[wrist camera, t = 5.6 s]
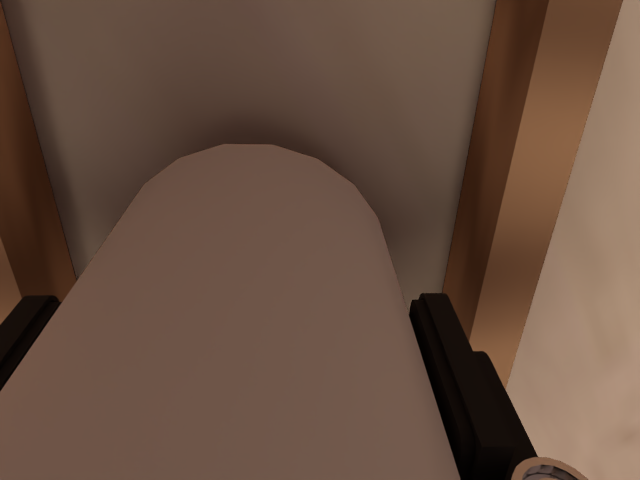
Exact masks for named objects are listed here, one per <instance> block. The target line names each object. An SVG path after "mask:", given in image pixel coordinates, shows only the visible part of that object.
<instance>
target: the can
mask: <svg viewBox="0 0 640 480" xmlns="http://www.w3.org/2000/svg"><path fill="white" fill-rule="evenodd" d="M0 480H461V479H460V476H459V473H458V470H457V467H456V464H455V460H454V457H453V454H452V451H451V448H450V444H449V441H448V438H447V435H446V432H445V429H444V425H443V422H442V419H441V416H440V413H439V410H438V406H437V403H436V400H435V397H434V394H433V391H432V387H431V384H430V381H429V378H428V375H427V371H426V368H425V365H424V362H423V359H422V356H421V352H420V349H419V346H418V343H417V340H416V337H415V333H414V330H413V327H412V324H411V321H410V318H409V314H408V311H407V308H406V305H405V302H404V298H403V295H402V292H401V289H400V286H399V283H398V279H397V276H396V273H395V270H394V267H393V264H392V260H391V257H390V254H389V251H388V248H387V244H386V241H385V238H384V235H383V232H382V229H381V225H380V222H379V219H378V217H377V216H376V214H375V213H374V211H373V210H372V209H371V207H370V206H369V204H368V203H367V202H366V200H365V199H364V197H363V196H362V195H361V193H360V192H359V190H358V189H357V188H356V186H355V185H354V184H353V183H351V182H350V181H348V180H347V179H346V178H344V177H343V176H341V175H340V174H339V173H337V172H336V171H334V170H333V169H332V168H330V167H329V166H327V165H326V164H324V163H323V162H322V161H320V160H319V159H317V158H314V157H311V156H307V155H304V154H301V153H298V152H295V151H292V150H288V149H285V148H282V147H279V146H276V145H273V144H222V145H219V146H216V147H213V148H209V149H206V150H203V151H200V152H197V153H193V154H190V155H187V156H184V157H180V158H178V159H177V160H176V161H174V162H173V163H172V164H170V165H169V166H168V167H166V168H165V169H163V170H162V171H161V172H159V173H158V174H157V175H155V176H154V177H153V178H151V179H150V180H149V181H147V182H146V183H145V184H144V185H143V186H142V188H141V189H140V191H139V192H138V194H137V195H136V196H135V198H134V199H133V201H132V202H131V204H130V205H129V207H128V208H127V209H126V211H125V212H124V214H123V215H122V217H121V218H120V220H119V221H118V222H117V224H116V225H115V227H114V228H113V230H112V231H111V233H110V234H109V235H108V237H107V238H106V240H105V241H104V243H103V244H102V246H101V247H100V248H99V250H98V251H97V253H96V254H95V256H94V257H93V259H92V260H91V261H90V263H89V264H88V266H87V267H86V269H85V270H84V271H83V273H82V274H81V276H80V277H79V279H78V280H77V282H76V283H75V284H74V286H73V287H72V289H71V290H70V292H69V293H68V295H67V296H66V297H65V299H64V300H63V302H62V303H61V305H60V306H59V308H58V309H57V310H56V312H55V313H54V315H53V316H52V318H51V319H50V321H49V322H48V323H47V325H46V326H45V328H44V329H43V331H42V332H41V334H40V335H39V336H38V338H37V339H36V341H35V342H34V344H33V345H32V347H31V348H30V349H29V351H28V352H27V354H26V355H25V357H24V358H23V360H22V361H21V362H20V364H19V365H18V367H17V368H16V370H15V371H14V373H13V374H12V375H11V377H10V378H9V380H8V381H7V383H6V384H5V386H4V387H3V388H2V390H1V391H0Z"/></svg>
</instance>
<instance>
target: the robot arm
mask: <svg viewBox="0 0 640 480" xmlns="http://www.w3.org/2000/svg"><path fill="white" fill-rule="evenodd" d="M61 303H62V302H59V299H58V298H57V297H56V296H54V295H27V296H24V297H23V298H22V299H21V300H20V301H19V303H18V304H17V305H16V306H15V307H14V309H13V310H12V311H11V312H10V314H9V315H8V316H7V317H6V318H5V320H4V321H3V322H2V323H1V324H0V391H1V390H2V388H3V387H4V386H5V384H6V383H7V381H8V380H9V378H10V377H11V375H12V374H13V373H14V371H15V370H16V368H17V367H18V365H19V364H20V362H21V361H22V360H23V358H24V357H25V355H26V354H27V352H28V351H29V349H30V348H31V347H32V345H33V344H34V342H35V341H36V339H37V338H38V336H39V335H40V334H41V332H42V331H43V329H44V328H45V326H46V325H47V323H48V322H49V321H50V319H51V318H52V316H53V315H54V313H55V312H56V310H57V309H58V308H59V306H60V305H61ZM409 318H410V321H411V324H412V327H413V330H414V333H415V337H416V340H417V343H418V346H419V349H420V352H421V356H422V359H423V362H424V365H425V368H426V371H427V375H428V378H429V381H430V384H431V387H432V391H433V394H434V397H435V400H436V403H437V406H438V410H439V413H440V416H441V419H442V422H443V425H444V429H445V432H446V435H447V438H448V441H449V444H450V448H451V451H452V454H453V457H454V460H455V464H456V467H457V470H458V473H459V476H460V479H461V480H588V479H587V478H586V477H585V476H584V475H582V474H581V473H580V472H579V471H577V470H576V469H575V468H573V467H571V466H569V465H567V464H565V463H563V462H561V461H558V460H555V459H551V458H548V457H538V456H537V454H536V452H535V450H534V448H533V446H532V444H531V441H530V439H529V437H528V435H527V433H526V431H525V429H524V427H523V425H522V423H521V421H520V419H519V417H518V415H517V413H516V411H515V409H514V407H513V405H512V402H511V400H510V398H509V396H508V394H507V392H506V390H505V388H504V386H503V384H502V382H501V380H500V378H499V376H498V374H497V372H496V370H495V368H494V365H493V363H492V361H491V359H490V358H489V356H488V355H487V353H485V352H484V351H473V350H472V348H471V345H470V343H469V341H468V339H467V336H466V334H465V332H464V330H463V328H462V325H461V323H460V321H459V319H458V317H457V314H456V312H455V310H454V308H453V306H452V303H451V301H450V299H449V297H448V295H447V294H445V293H422V294H421V295H420V297H419V300H412V302H411V306H410V312H409Z"/></svg>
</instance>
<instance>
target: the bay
mask: <svg viewBox="0 0 640 480" xmlns="http://www.w3.org/2000/svg"><path fill="white" fill-rule="evenodd" d="M622 2H623V0H497V2H496V7H495V13H494V18H493V24H492V29H491V34H490V40H489V45H488V50H487V56H486V61H485V67H484V72H483V77H482V83H481V88H480V93H479V99H478V104H477V110H476V115H475V120H474V126H473V131H472V136H471V142H470V147H469V153H468V158H467V163H466V169H465V174H464V179H463V185H462V190H461V196H460V201H459V206H458V212H457V217H456V222H455V228H454V233H453V239H452V244H451V249H450V255H449V260H448V265H447V271H446V276H445V282H444V287H443V292H442V293H445V294H447V295H448V297H449V299H450V301H451V303H452V306H453V308H454V310H455V312H456V314H457V317H458V319H459V321H460V323H461V325H462V328H463V330H464V332H465V334H466V336H467V339H468V341H469V343H470V345H471V348H472V350H473V351H484V352H485V353H487V355H488V356H489V358H490V359H491V361H492V363H493V365H494V368H495V370H496V372H497V374H498V376H499V378H500V380H501V382H502V384H503V386H504V388H505V389H506V385H507V382H508V379H509V376H510V372H511V369H512V366H513V362H514V359H515V356H516V352H517V349H518V346H519V342H520V339H521V336H522V333H523V329H524V326H525V323H526V319H527V316H528V313H529V309H530V306H531V303H532V299H533V296H534V293H535V290H536V286H537V283H538V280H539V276H540V273H541V270H542V266H543V263H544V260H545V256H546V253H547V250H548V247H549V243H550V240H551V237H552V233H553V230H554V227H555V223H556V220H557V217H558V213H559V210H560V207H561V204H562V200H563V197H564V194H565V190H566V187H567V184H568V180H569V177H570V174H571V170H572V167H573V164H574V161H575V157H576V154H577V151H578V147H579V144H580V141H581V137H582V134H583V131H584V127H585V124H586V121H587V118H588V114H589V111H590V108H591V104H592V101H593V98H594V94H595V91H596V88H597V84H598V81H599V78H600V75H601V71H602V68H603V65H604V61H605V58H606V55H607V51H608V48H609V45H610V41H611V38H612V35H613V32H614V28H615V25H616V22H617V18H618V15H619V12H620V8H621V5H622ZM76 282H77V281H76V277H75V274H74V270H73V266H72V263H71V259H70V255H69V252H68V248H67V244H66V240H65V237H64V233H63V229H62V226H61V222H60V218H59V215H58V211H57V207H56V204H55V200H54V196H53V193H52V189H51V185H50V182H49V178H48V174H47V171H46V167H45V163H44V160H43V156H42V152H41V149H40V145H39V141H38V137H37V134H36V130H35V126H34V123H33V119H32V115H31V112H30V108H29V104H28V101H27V97H26V93H25V90H24V86H23V82H22V79H21V75H20V71H19V68H18V64H17V60H16V57H15V53H14V49H13V46H12V42H11V38H10V34H9V31H8V27H7V23H6V20H5V16H4V12H3V9H2V5H1V1H0V324H1V323H2V322H3V321H4V320H5V318H6V317H7V316H8V315H9V314H10V312H11V311H12V310H13V309H14V307H15V306H16V305H17V304H18V303H19V301H20V300H21V299H22V298H23V297H24V296H27V295H54V296H56V297H57V298H58V299H59V302H63V300H64V299H65V297H66V296H67V295H68V293H69V292H70V290H71V289H72V287H73V286H74V284H75V283H76Z"/></svg>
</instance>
